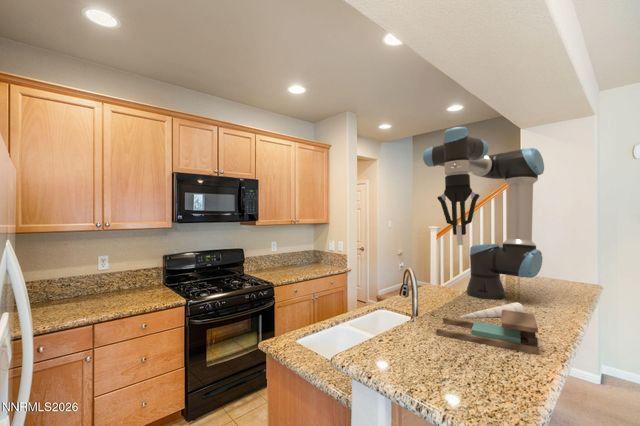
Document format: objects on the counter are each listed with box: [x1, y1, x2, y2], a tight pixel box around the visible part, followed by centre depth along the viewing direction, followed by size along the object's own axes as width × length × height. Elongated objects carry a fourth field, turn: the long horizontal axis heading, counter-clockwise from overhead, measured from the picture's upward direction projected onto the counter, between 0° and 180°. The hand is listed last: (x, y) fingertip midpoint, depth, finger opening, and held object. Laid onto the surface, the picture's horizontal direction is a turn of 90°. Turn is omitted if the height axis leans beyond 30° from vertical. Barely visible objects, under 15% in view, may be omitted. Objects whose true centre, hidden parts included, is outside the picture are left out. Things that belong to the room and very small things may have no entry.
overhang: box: [436, 310, 540, 356], centre depth 87 cm, size 25×14×7 cm, turn 57°
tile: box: [470, 321, 522, 344], centre depth 85 cm, size 12×8×3 cm, turn 55°
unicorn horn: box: [458, 302, 526, 319], centre depth 104 cm, size 5×24×5 cm, turn 92°
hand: (460, 244), depth 97 cm, fingers closed
